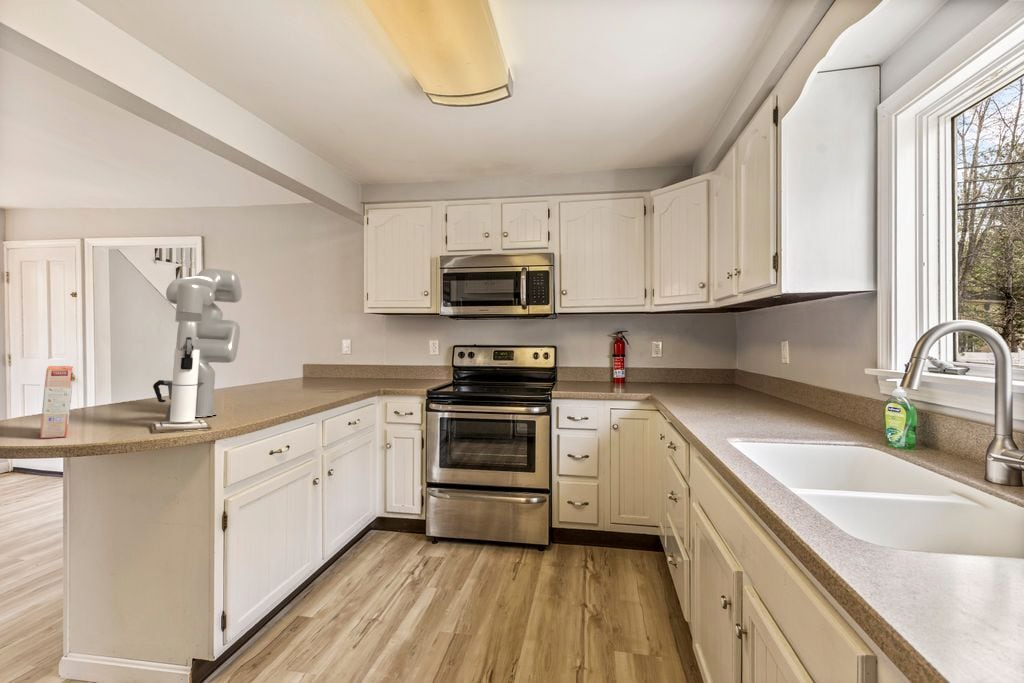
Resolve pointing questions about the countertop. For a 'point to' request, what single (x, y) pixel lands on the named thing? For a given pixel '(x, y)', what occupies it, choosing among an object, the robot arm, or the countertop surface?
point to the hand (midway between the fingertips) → (185, 368)
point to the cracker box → (56, 401)
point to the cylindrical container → (184, 389)
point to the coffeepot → (169, 384)
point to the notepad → (179, 426)
